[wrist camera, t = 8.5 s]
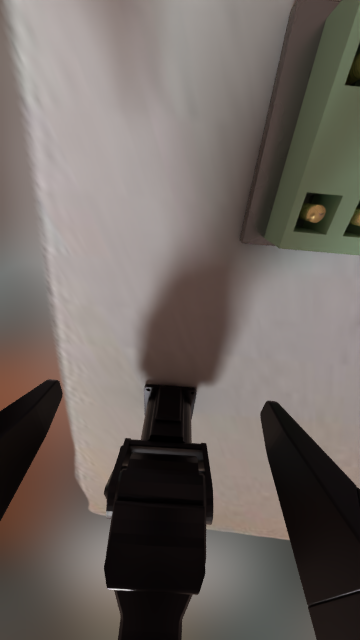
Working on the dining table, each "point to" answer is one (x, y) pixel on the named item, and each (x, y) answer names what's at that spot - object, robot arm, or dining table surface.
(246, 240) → the grey peg plate
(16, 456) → the robot arm
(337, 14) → the green block with holes
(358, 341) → the dining table surface
